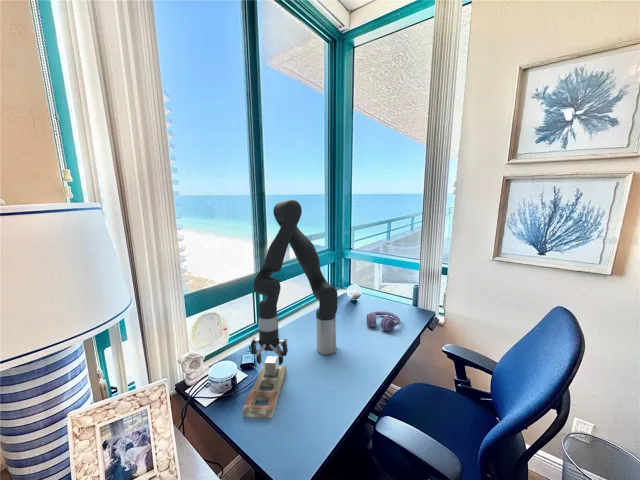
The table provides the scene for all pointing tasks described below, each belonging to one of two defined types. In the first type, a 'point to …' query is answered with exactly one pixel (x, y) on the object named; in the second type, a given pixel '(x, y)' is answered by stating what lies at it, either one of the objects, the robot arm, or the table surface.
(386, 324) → the headphones
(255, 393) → the wooden slotted board
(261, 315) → the robot arm
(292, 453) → the table surface
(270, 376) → the steel peg
